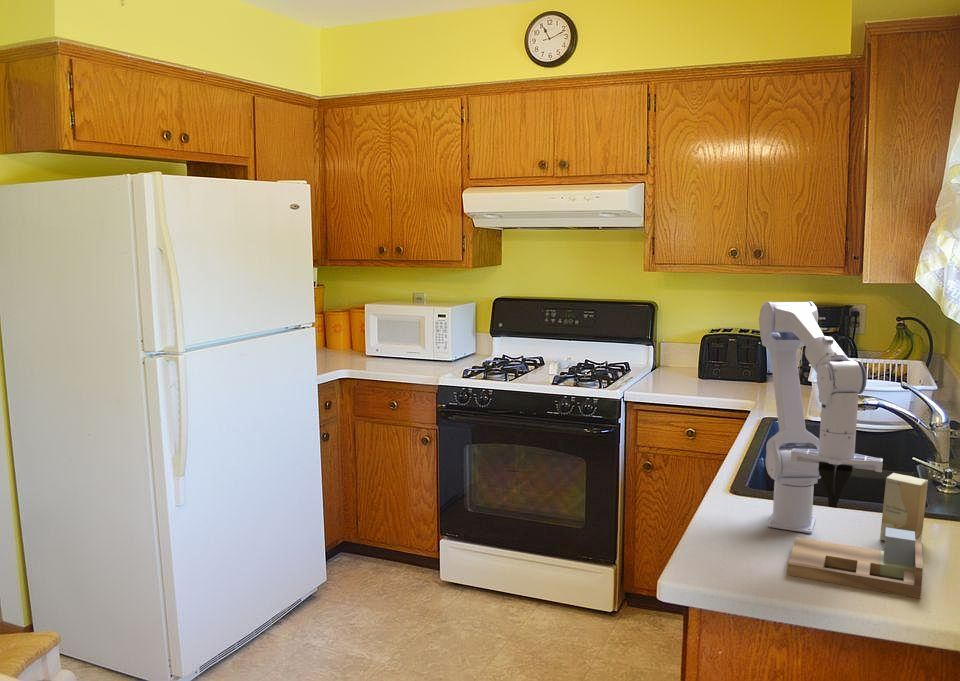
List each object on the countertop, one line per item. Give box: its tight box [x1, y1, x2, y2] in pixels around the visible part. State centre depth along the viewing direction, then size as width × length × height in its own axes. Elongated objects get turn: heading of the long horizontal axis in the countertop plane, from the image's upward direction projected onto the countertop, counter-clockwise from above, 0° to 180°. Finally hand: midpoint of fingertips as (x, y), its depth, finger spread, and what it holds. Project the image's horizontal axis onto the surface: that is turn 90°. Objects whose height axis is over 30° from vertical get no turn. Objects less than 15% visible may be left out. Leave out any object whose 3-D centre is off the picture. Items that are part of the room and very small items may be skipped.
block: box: [883, 527, 915, 566], centre depth 142 cm, size 4×4×4 cm
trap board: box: [786, 536, 924, 599], centre depth 142 cm, size 13×20×5 cm, turn 63°
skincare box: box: [879, 472, 929, 541], centre depth 154 cm, size 6×4×12 cm
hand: (833, 505), depth 146 cm, fingers closed
